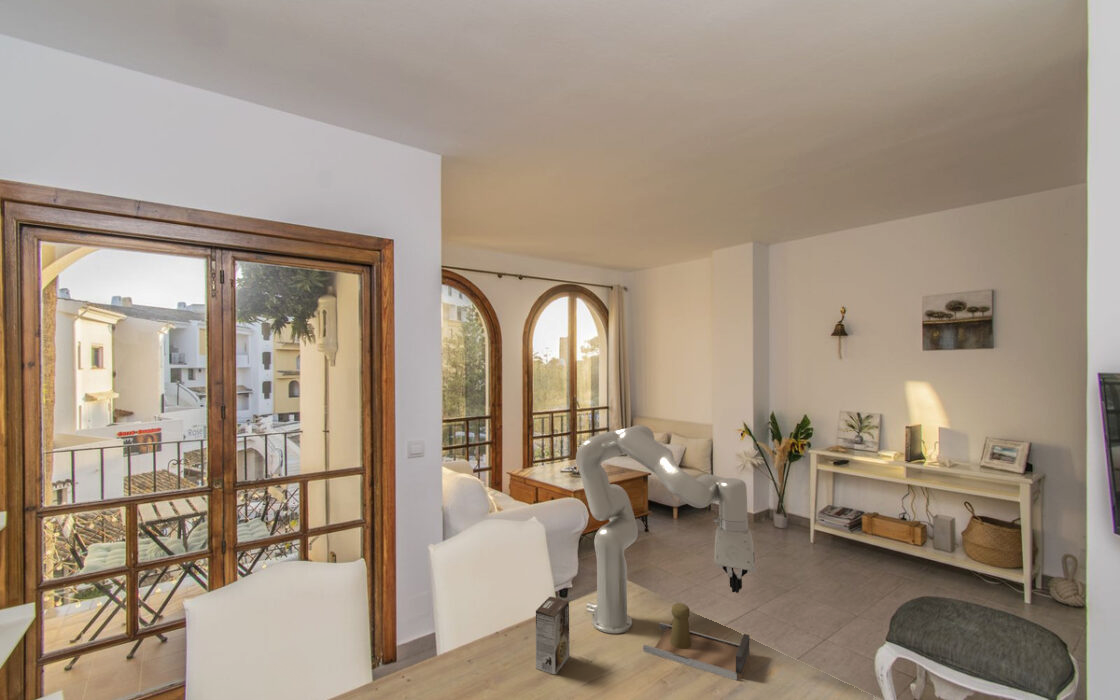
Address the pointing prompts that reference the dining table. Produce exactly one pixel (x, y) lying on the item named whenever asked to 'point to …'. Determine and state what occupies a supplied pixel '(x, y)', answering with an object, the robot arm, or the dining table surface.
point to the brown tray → (711, 652)
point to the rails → (691, 661)
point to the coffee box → (552, 635)
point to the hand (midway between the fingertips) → (736, 590)
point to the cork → (680, 626)
